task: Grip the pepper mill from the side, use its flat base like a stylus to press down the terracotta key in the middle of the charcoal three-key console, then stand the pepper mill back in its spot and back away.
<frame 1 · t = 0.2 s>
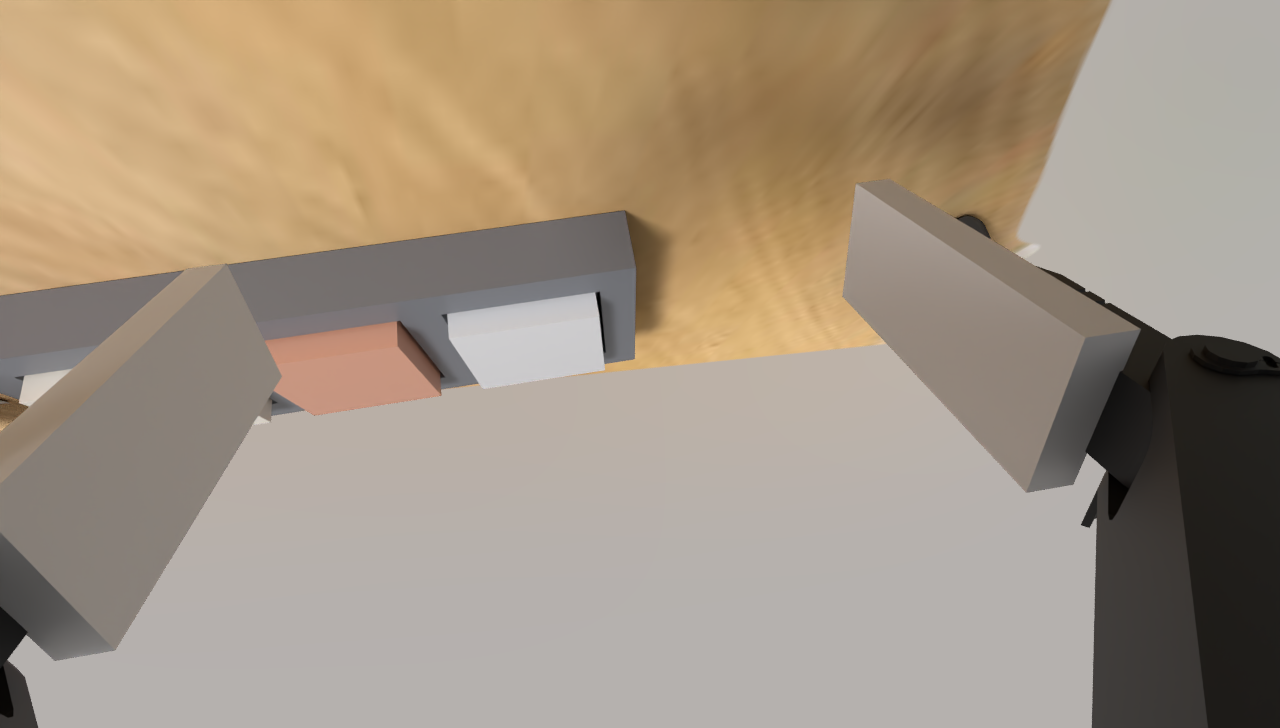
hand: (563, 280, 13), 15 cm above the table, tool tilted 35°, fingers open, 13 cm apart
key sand: (162, 391, 40), point 4 cm above the table, slide at 0.0 cm
console: (351, 309, 42), on the table
key terracotta: (351, 363, 40), point 4 cm above the table, slide at 0.0 cm
key grey: (533, 335, 41), point 4 cm above the table, slide at 0.0 cm
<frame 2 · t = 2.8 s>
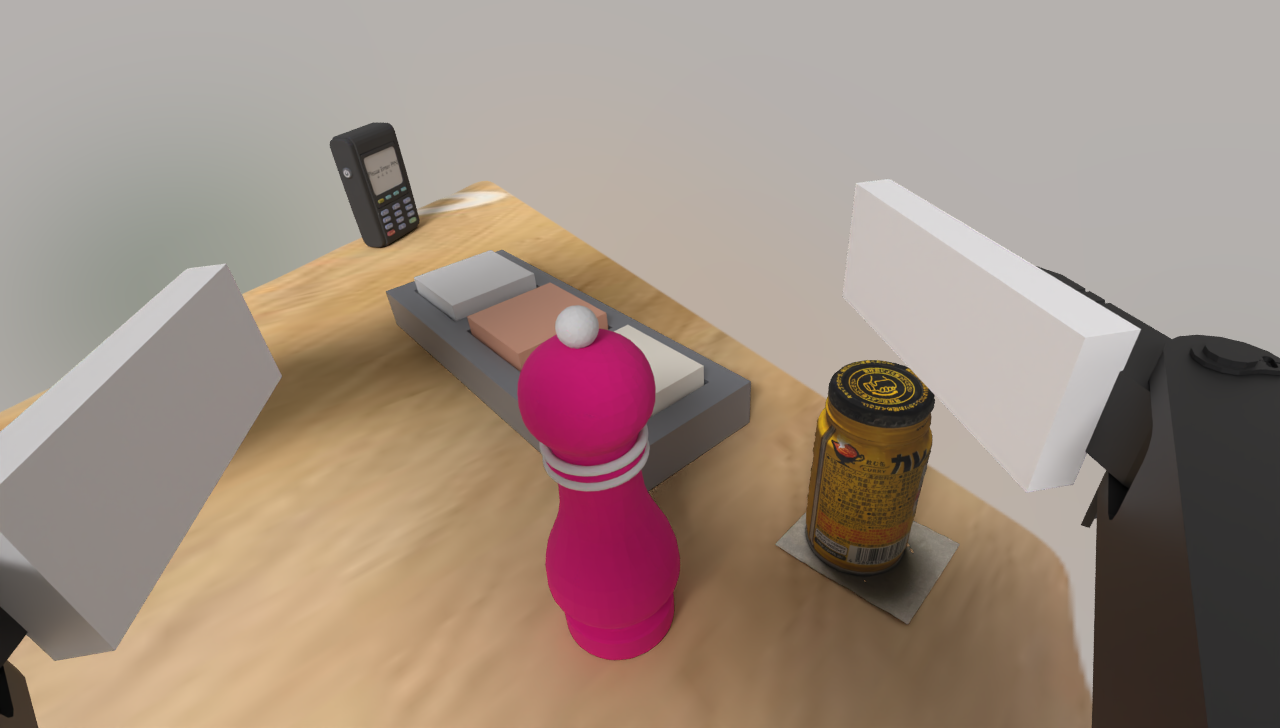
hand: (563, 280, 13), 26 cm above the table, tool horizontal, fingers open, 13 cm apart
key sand: (621, 383, 47), point 4 cm above the table, slide at 0.0 cm
card reader: (395, 238, 89), on the table
console: (545, 365, 58), on the table
key terracotta: (538, 329, 55), point 4 cm above the table, slide at 0.0 cm
key grey: (476, 288, 63), point 4 cm above the table, slide at 0.0 cm
condiment: (865, 548, 38), on the table
pepper mill: (621, 612, 36), on the table
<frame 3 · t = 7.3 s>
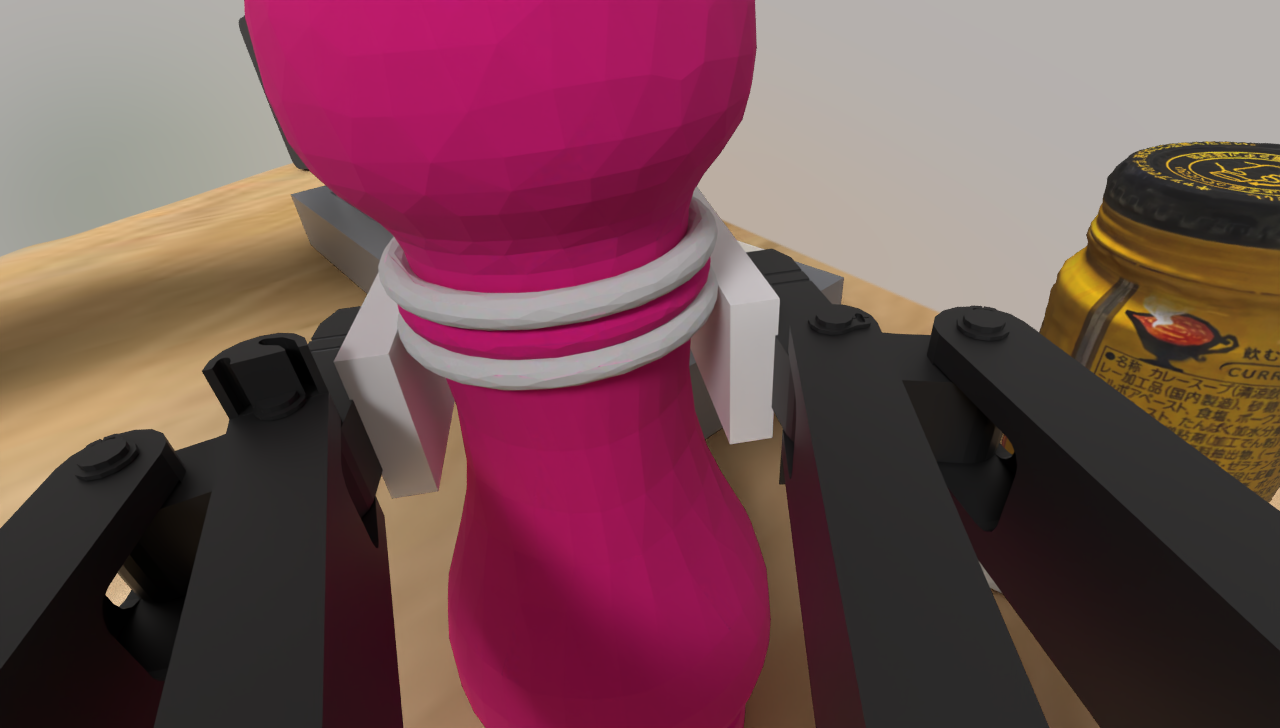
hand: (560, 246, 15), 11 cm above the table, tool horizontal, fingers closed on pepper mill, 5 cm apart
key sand: (625, 285, 29), point 4 cm above the table, slide at 0.0 cm
card reader: (335, 162, 70), on the table
console: (511, 286, 39), on the table
key grey: (417, 187, 44), point 4 cm above the table, slide at 0.0 cm
condiment: (1112, 563, 19), on the table
pepper mill: (629, 702, 17), on the table, touching gripper
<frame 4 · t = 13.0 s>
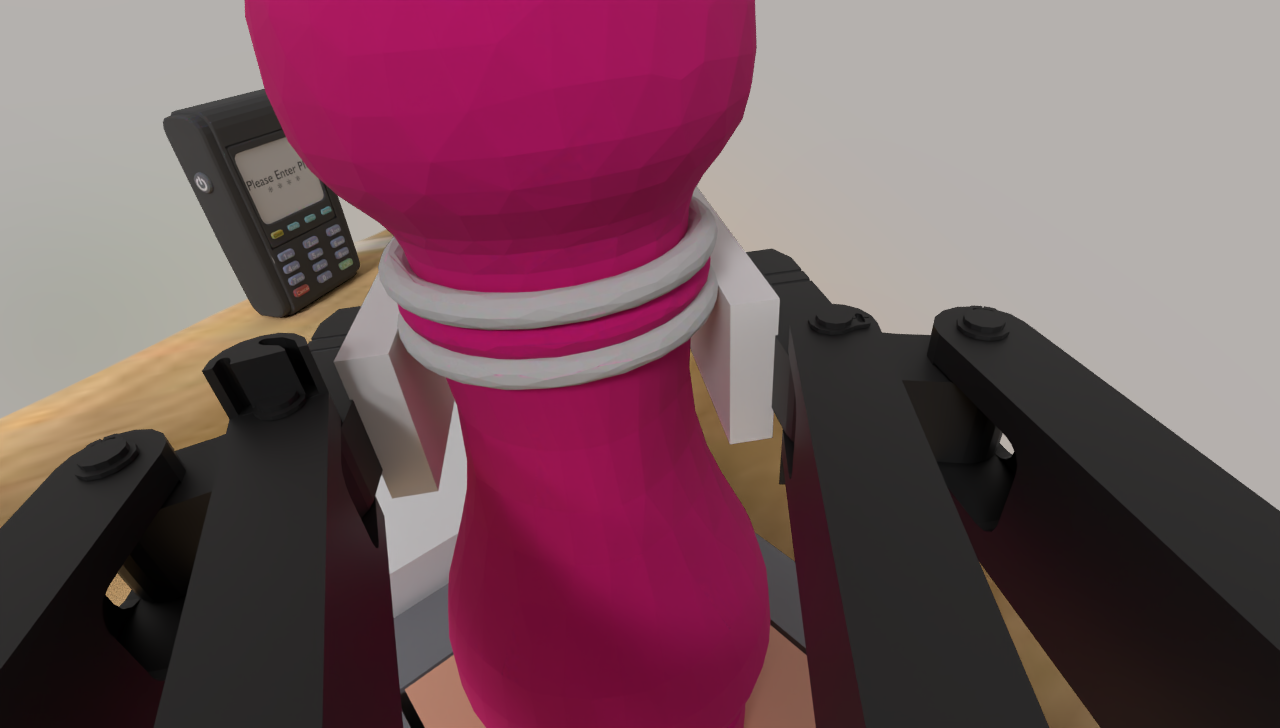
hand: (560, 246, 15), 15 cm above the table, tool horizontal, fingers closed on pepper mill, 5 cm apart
card reader: (314, 296, 50), on the table
key terracotta: (631, 726, 17), point 3 cm above the table, slide at 1.2 cm, touching pepper mill
key grey: (439, 481, 25), point 4 cm above the table, slide at 0.0 cm
pepper mill: (629, 702, 17), point 4 cm above the table, touching gripper, key terracotta
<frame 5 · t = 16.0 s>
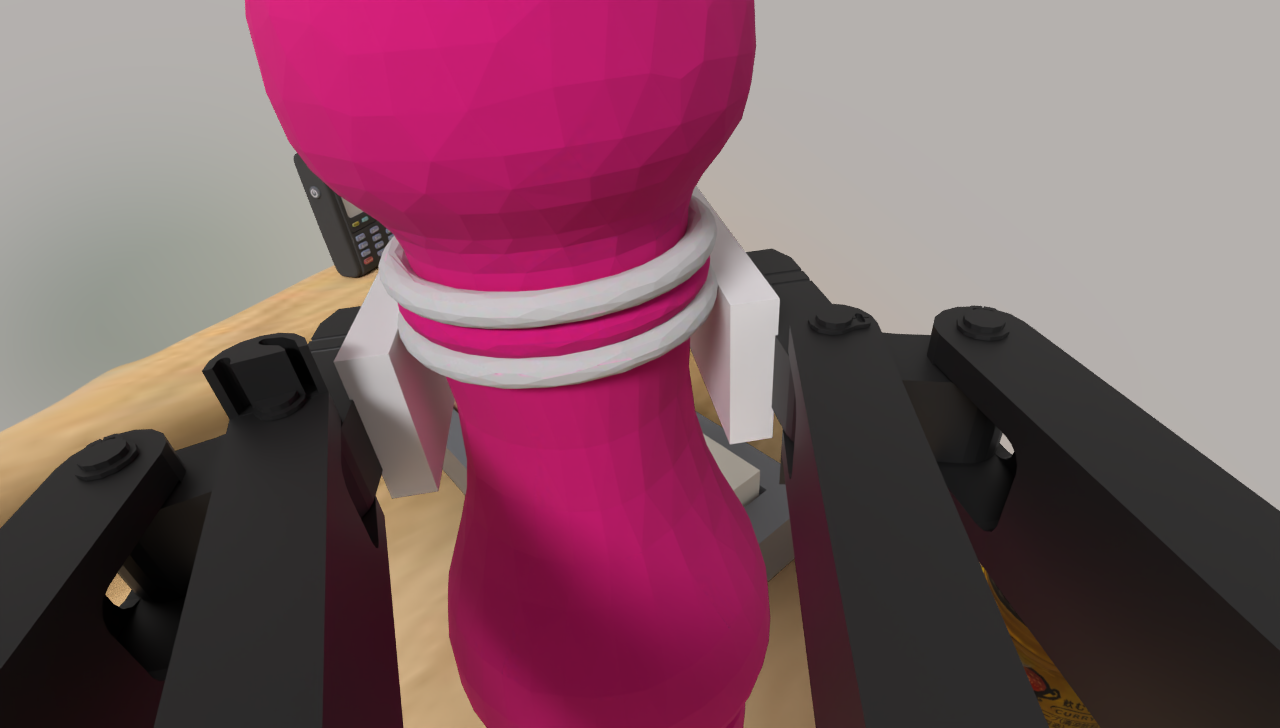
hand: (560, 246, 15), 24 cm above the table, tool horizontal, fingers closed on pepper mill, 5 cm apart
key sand: (647, 488, 36), point 4 cm above the table, slide at 0.0 cm
card reader: (374, 265, 77), on the table
console: (547, 443, 46), on the table
key terracotta: (540, 414, 44), point 3 cm above the table, slide at 1.2 cm
pepper mill: (629, 701, 17), point 13 cm above the table, touching gripper
when the fingers open (12 cm above the table, at t = 18.6 s): pepper mill stays where it is, on the table.
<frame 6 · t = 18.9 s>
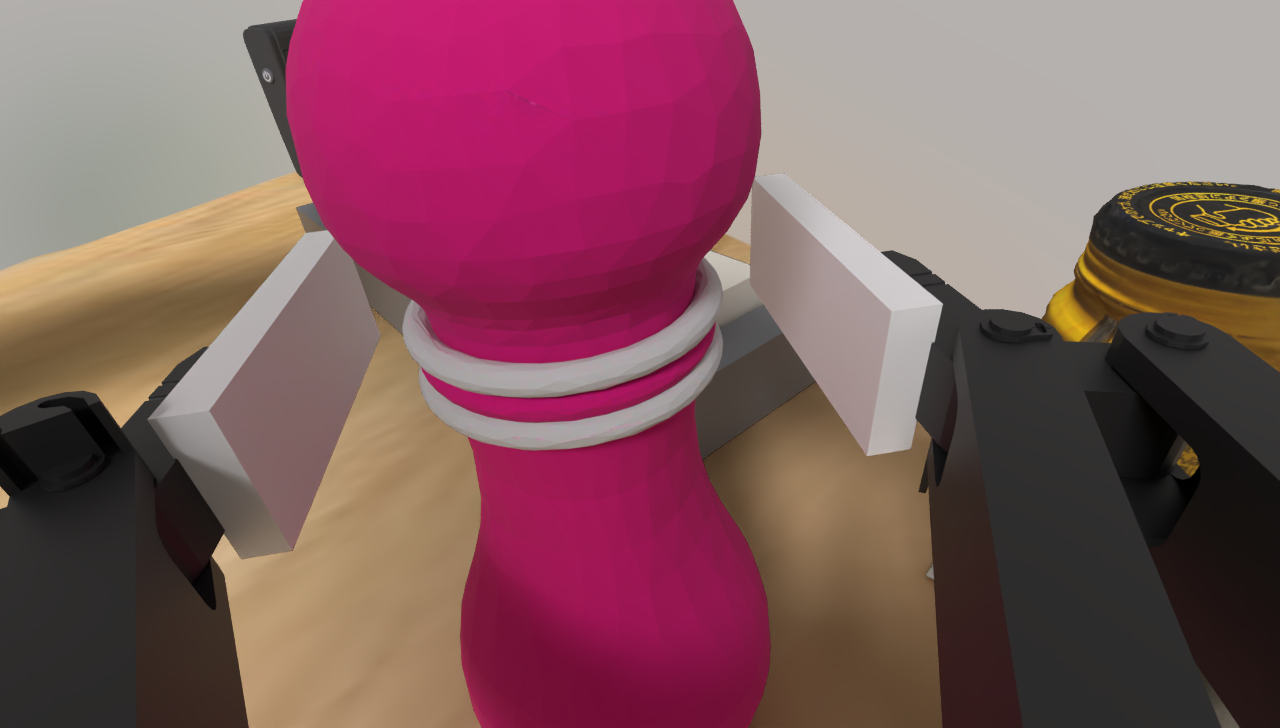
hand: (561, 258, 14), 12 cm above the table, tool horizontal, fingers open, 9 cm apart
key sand: (627, 304, 29), point 4 cm above the table, slide at 0.0 cm
card reader: (338, 171, 71), on the table
console: (514, 299, 39), on the table
condiment: (1101, 583, 20), on the table
pepper mill: (633, 721, 17), on the table
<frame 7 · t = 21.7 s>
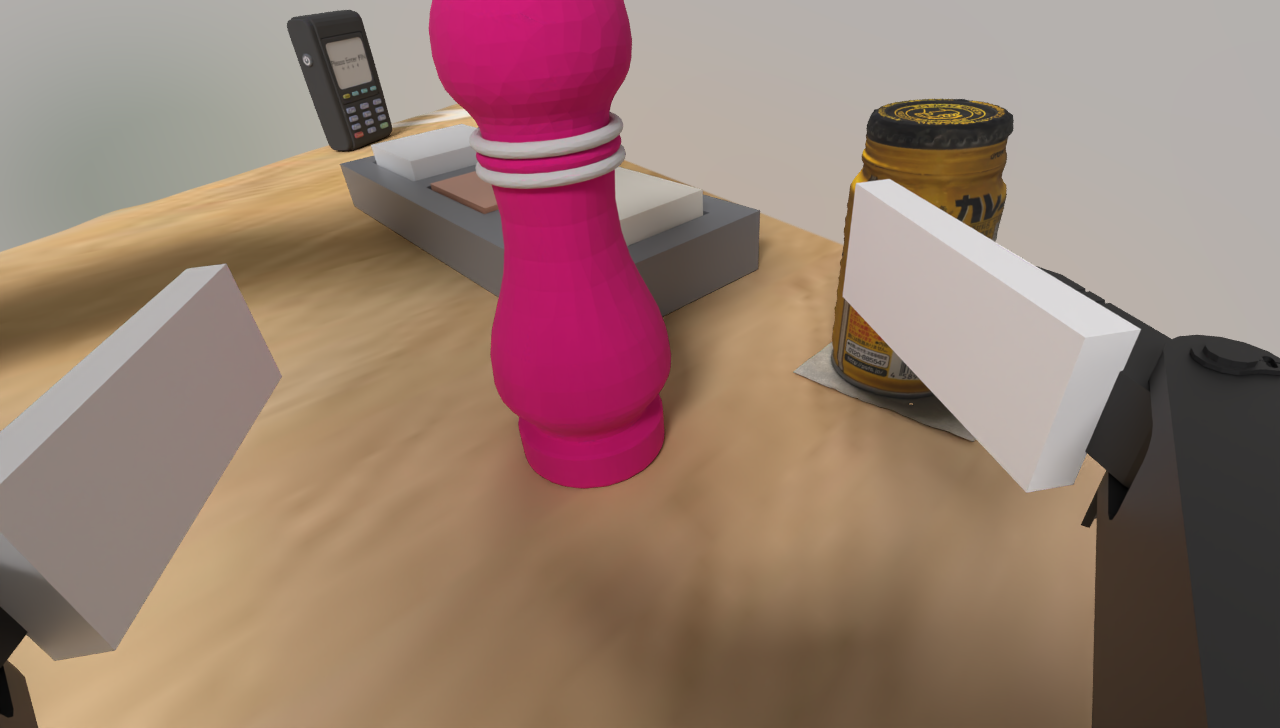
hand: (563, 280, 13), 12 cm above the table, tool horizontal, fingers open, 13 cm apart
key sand: (603, 217, 39), point 4 cm above the table, slide at 0.0 cm
card reader: (364, 145, 81), on the table
console: (519, 231, 49), on the table
key terracotta: (512, 198, 48), point 3 cm above the table, slide at 1.2 cm
key grey: (442, 157, 55), point 4 cm above the table, slide at 0.0 cm
condiment: (908, 375, 30), on the table
pepper mill: (595, 443, 27), on the table
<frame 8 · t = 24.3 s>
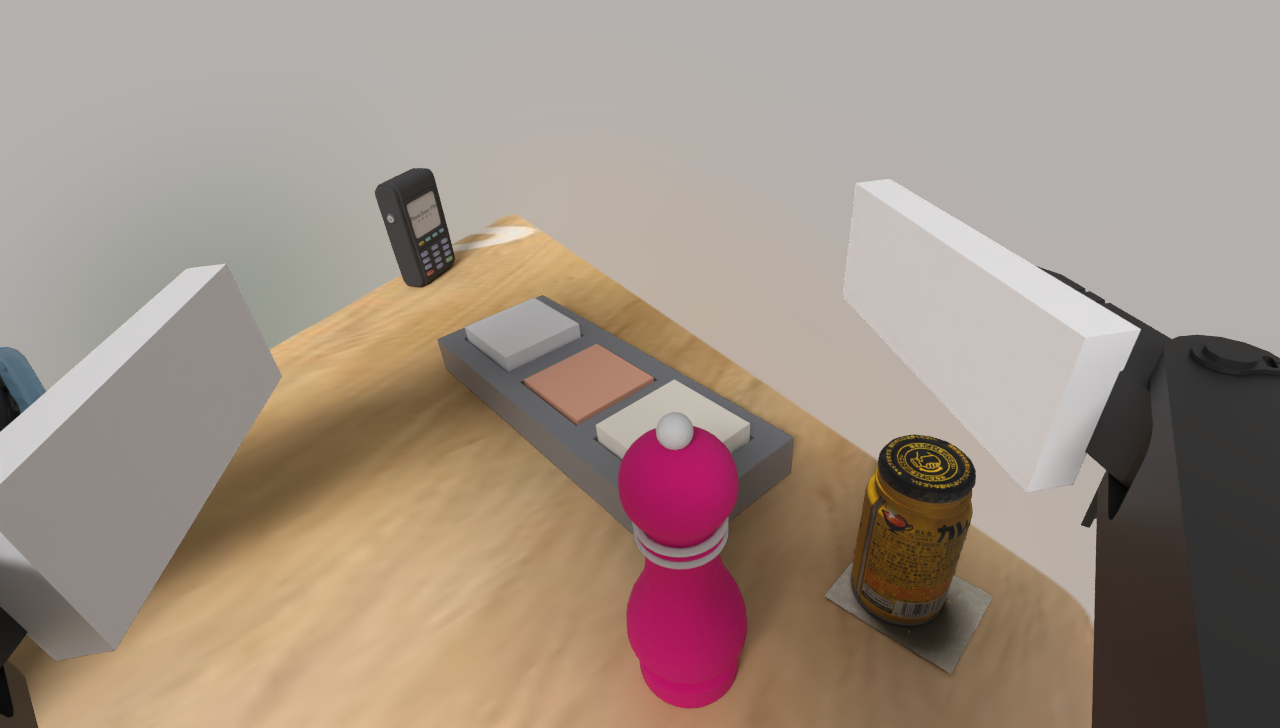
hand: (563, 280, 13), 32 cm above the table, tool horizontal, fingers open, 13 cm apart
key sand: (672, 438, 51), point 4 cm above the table, slide at 0.0 cm
card reader: (432, 276, 93), on the table
console: (593, 413, 61), on the table
key terracotta: (589, 391, 60), point 3 cm above the table, slide at 1.2 cm
key grey: (523, 337, 67), point 4 cm above the table, slide at 0.0 cm
condiment: (907, 599, 42), on the table
pepper mill: (688, 661, 39), on the table
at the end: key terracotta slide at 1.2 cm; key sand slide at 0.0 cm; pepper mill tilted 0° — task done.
